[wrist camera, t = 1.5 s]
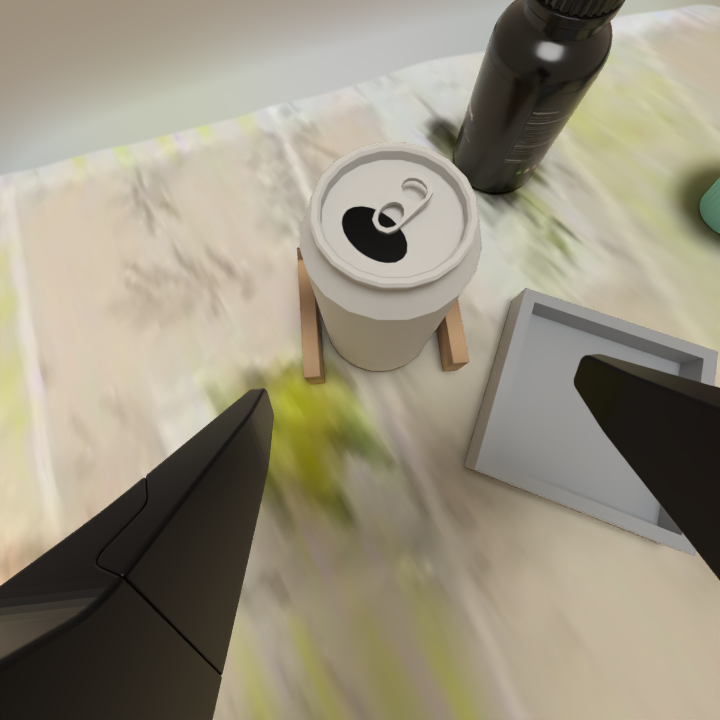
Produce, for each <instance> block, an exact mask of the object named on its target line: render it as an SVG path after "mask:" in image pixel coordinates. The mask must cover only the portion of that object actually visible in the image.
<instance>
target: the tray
mask: <svg viewBox="0 0 720 720" xmlns="http://www.w3.org/2000/svg"><path fill="white" fill-rule="evenodd" d="M591 354H603V355H606V356H610V357H613V358H617V359H620V360H624V361H627V362H631V363H634V364H638V365H641V366H645V367H648V368H652V369H656V370H659V371H663V372H666V373H670V374H673V375H677V376H680V377H684V378H687V379H691V380H694V381H698V382H701V383H705V384H708V385H712V386H714V383H715V374H716V366H717V357H718V351H715V350H712V349H709V348H706V347H703V346H700V345H697V344H693V343H690V342H687V341H684V340H681V339H678V338H675V337H672V336H669V335H666V334H663V333H660V332H657V331H654V330H651V329H648V328H645V327H642V326H639V325H636V324H633V323H630V322H627V321H624V320H621V319H618V318H615V317H612V316H609V315H606V314H603V313H600V312H597V311H594V310H591V309H588V308H585V307H582V306H579V305H576V304H573V303H570V302H567V301H564V300H561V299H558V298H555V297H551V296H548V295H545V294H542V293H539V292H536V291H533V290H530V289H527V288H525V289H524V290H523V291H522V292H521V293H520V294H519V295H518V296H516V297H515V298H514V299H513V300H512V302H511V306H510V309H509V313H508V316H507V320H506V323H505V326H504V330H503V333H502V337H501V340H500V344H499V347H498V351H497V354H496V357H495V361H494V364H493V368H492V371H491V375H490V378H489V382H488V385H487V389H486V392H485V395H484V399H483V402H482V406H481V409H480V413H479V416H478V420H477V423H476V426H475V430H474V433H473V437H472V440H471V444H470V447H469V451H468V454H467V457H466V461H465V464H464V467H467V468H469V469H472V470H474V471H477V472H479V473H482V474H484V475H487V476H490V477H492V478H495V479H497V480H500V481H502V482H505V483H507V484H510V485H512V486H515V487H517V488H520V489H523V490H525V491H528V492H530V493H533V494H535V495H538V496H540V497H543V498H545V499H548V500H550V501H553V502H555V503H558V504H561V505H563V506H566V507H568V508H571V509H573V510H576V511H578V512H581V513H583V514H586V515H588V516H591V517H594V518H596V519H599V520H601V521H604V522H606V523H609V524H611V525H614V526H616V527H619V528H621V529H624V530H626V531H629V532H632V533H634V534H637V535H639V536H642V537H644V538H647V539H649V540H652V541H654V542H657V543H659V544H662V545H665V546H668V547H670V548H673V549H676V550H679V551H681V552H684V553H687V554H690V555H692V556H695V551H696V550H695V548H694V547H693V546H692V544H691V543H690V542H689V541H688V539H687V538H686V537H685V535H684V534H683V533H682V532H681V530H680V529H679V528H678V527H677V525H676V524H675V523H674V521H673V520H672V519H671V518H670V516H669V515H668V514H667V513H666V511H665V510H664V509H663V507H662V506H661V505H660V504H659V502H658V501H657V500H656V499H655V497H654V496H653V495H652V493H651V492H650V491H649V490H648V488H647V487H646V486H645V484H644V483H643V482H642V481H641V479H640V478H639V477H638V476H637V474H636V473H635V472H634V470H633V469H632V468H631V467H630V465H629V464H628V463H627V462H626V460H625V459H624V458H623V456H622V455H621V454H620V453H619V451H618V450H617V449H616V448H615V446H614V445H613V444H612V442H611V441H610V440H609V439H608V437H607V436H606V435H605V433H604V432H603V430H602V429H601V427H600V426H599V424H598V423H597V421H596V420H595V418H594V417H593V415H592V413H591V412H590V410H589V409H588V407H587V406H586V404H585V402H584V401H583V399H582V398H581V396H580V395H579V393H578V391H577V390H576V388H575V386H574V377H575V374H576V371H577V368H578V365H579V362H580V360H581V358H582V357H583V356H585V355H591Z"/></svg>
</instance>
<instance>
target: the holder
mask: <svg viewBox="0 0 720 720" xmlns="http://www.w3.org/2000/svg"><path fill="white" fill-rule="evenodd" d="M297 255H298V274H299V292H300V311H301V330H302V349H303V368H304V378H305V379H306V380H307V381H308V382H309V383H310V384H318V383H325V378H324V363H323V349H322V335H321V320H320V309H319V306H318V303H317V300H316V297H315V294H314V291H313V288H312V285H311V282H310V279H309V276H308V273H307V270H306V267H305V264H304V261H303V257H302V254H301V251H300V248H297ZM437 335H438V341H439V347H440V353H441V360H442V366H443V371H453V370H458V369H460V368H461V367H463V366H464V365H465V364H467V363H468V362H469V357H468V351H467V346H466V341H465V335H464V330H463V325H462V319H461V314H460V309H459V303H458V298H457V300H456V301H455V303H454V304H453V306H452V307H451V309H450V310H449V311H448V313H447V314H446V316H445V317H444V319H443V320H442V322H441V323H440V325H439V326H438V327H437Z"/></svg>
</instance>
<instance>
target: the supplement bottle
mask: <svg viewBox="0 0 720 720" xmlns="http://www.w3.org/2000/svg"><path fill="white" fill-rule="evenodd" d="M624 1H625V0H515V1H514V2H512V3H511V4H510V5H509V6H508V7H507V8H506V10H505V11H504V12H503V13H502V15H501V16H500V18H499V19H498V21H497V23H496V25H495V27H494V29H493V32H492V35H491V37H490V40H489V43H488V46H487V49H486V52H485V55H484V59H483V62H482V65H481V68H480V71H479V74H478V77H477V80H476V83H475V86H474V89H473V92H472V96H471V99H470V102H469V105H468V108H467V111H466V114H465V117H464V120H463V123H462V126H461V129H460V133H459V136H458V139H457V142H456V146H455V150H454V161H455V165H456V167H457V168H458V169H459V170H460V171H461V172H462V173H463V174H464V175H465V176H466V177H467V179H468V181H469V183H470V185H471V186H473V187H475V188H477V189H479V190H482V191H485V192H491V193H501V192H507V191H510V190H513V189H516V188H518V187H519V186H521V185H522V184H524V183H525V182H526V181H527V180H528V179H529V178H530V177H531V175H532V174H533V173H534V171H535V170H536V168H537V167H538V165H539V164H540V162H541V161H542V159H543V158H544V156H545V155H546V153H547V152H548V150H549V149H550V147H551V146H552V144H553V143H554V141H555V140H556V138H557V137H558V135H559V134H560V132H561V131H562V129H563V128H564V126H565V125H566V123H567V122H568V120H569V119H570V117H571V116H572V114H573V113H574V111H575V110H576V108H577V107H578V105H579V104H580V102H581V101H582V99H583V98H584V96H585V95H586V93H587V92H588V90H589V88H590V87H591V85H592V84H593V82H594V81H595V79H596V78H597V76H598V75H599V73H600V71H601V70H602V68H603V67H604V65H605V63H606V61H607V59H608V56H609V53H610V49H611V45H612V26H611V22H610V21H611V20H612V19H613V18H614V17H615V16H616V14H617V13H618V11H619V10H620V8H621V7H622V5H623V3H624Z"/></svg>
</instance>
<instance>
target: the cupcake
mask: <svg viewBox="0 0 720 720" xmlns="http://www.w3.org/2000/svg"><path fill="white" fill-rule="evenodd" d="M700 213H701V216H702V218H703V220H704V221H705V223H706V224H707V225H708V226H709V227H710V228H711V229H713V230H714V231H715V232H717V233H719V234H720V177H719V178H718V180H717V181H716V182H715V183H714V184H713V185H712V187H711V188H710V189H709V190H708V191H707V192H706V193H705V194H704V195H703V197H702V199H701V201H700Z"/></svg>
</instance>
